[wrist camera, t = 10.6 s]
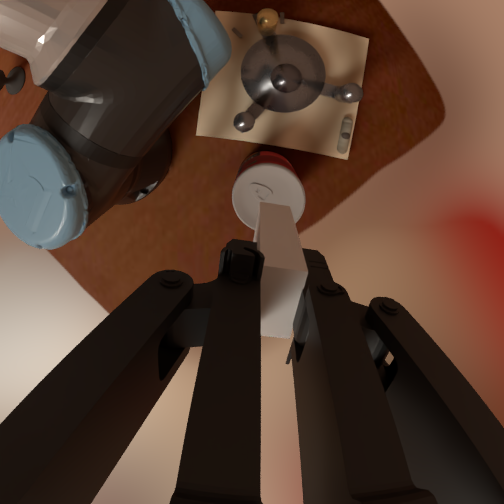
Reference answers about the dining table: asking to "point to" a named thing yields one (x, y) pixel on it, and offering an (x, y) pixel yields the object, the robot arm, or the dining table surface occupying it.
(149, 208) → the dining table surface
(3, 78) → the sundae
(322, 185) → the dining table surface
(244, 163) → the canned food
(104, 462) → the robot arm
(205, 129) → the stand
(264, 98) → the cam capstan
